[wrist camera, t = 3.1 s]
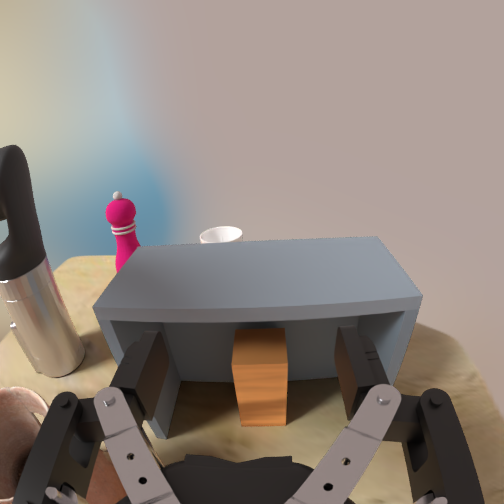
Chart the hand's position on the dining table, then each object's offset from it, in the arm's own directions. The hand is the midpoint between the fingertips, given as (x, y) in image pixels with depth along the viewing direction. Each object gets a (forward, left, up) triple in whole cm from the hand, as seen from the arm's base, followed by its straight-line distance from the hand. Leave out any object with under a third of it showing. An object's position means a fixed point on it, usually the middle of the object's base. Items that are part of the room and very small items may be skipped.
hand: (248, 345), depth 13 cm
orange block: (+4, +11, -22) cm, 24 cm away
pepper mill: (-11, +48, -22) cm, 53 cm away
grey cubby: (+4, +11, -22) cm, 24 cm away
